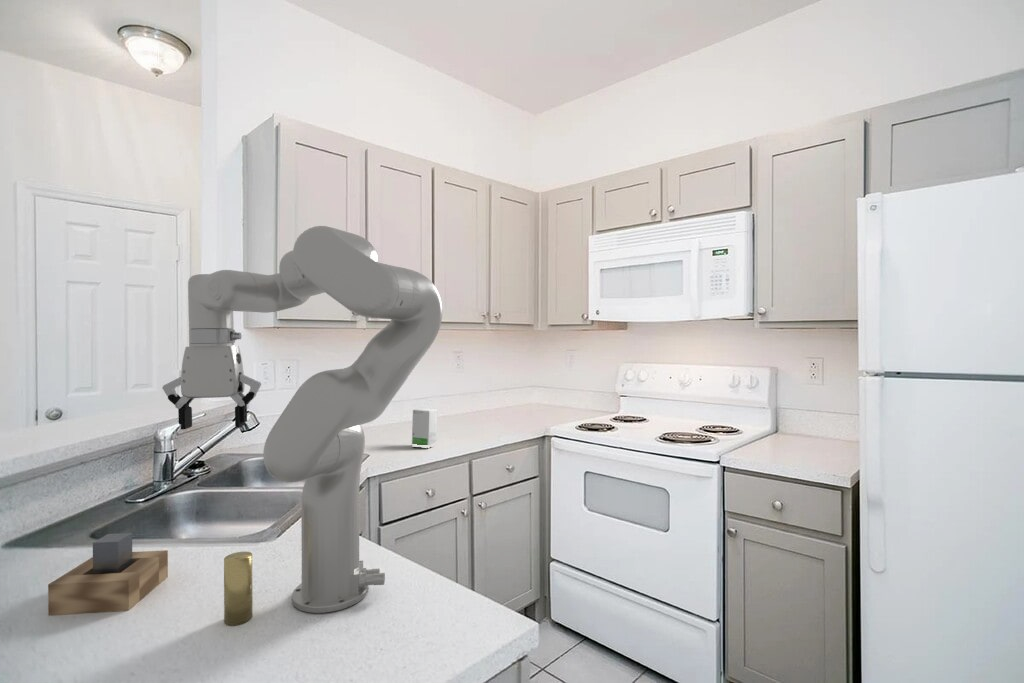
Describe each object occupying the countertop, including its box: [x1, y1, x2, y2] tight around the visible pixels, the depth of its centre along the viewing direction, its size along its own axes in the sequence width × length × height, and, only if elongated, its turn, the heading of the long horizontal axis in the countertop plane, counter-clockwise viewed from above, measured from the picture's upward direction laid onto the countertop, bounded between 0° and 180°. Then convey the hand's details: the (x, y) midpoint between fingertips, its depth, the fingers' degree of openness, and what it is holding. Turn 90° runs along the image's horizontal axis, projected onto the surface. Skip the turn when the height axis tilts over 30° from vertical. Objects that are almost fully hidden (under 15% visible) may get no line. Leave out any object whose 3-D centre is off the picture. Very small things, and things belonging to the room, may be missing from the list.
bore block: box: [47, 550, 169, 616], centre depth 90 cm, size 12×12×5 cm
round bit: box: [223, 551, 254, 627], centre depth 82 cm, size 4×4×10 cm
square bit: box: [92, 532, 133, 574], centre depth 90 cm, size 4×4×10 cm
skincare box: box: [411, 407, 438, 445], centre depth 211 cm, size 8×7×16 cm
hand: (213, 427), depth 100 cm, fingers open, 9 cm apart
